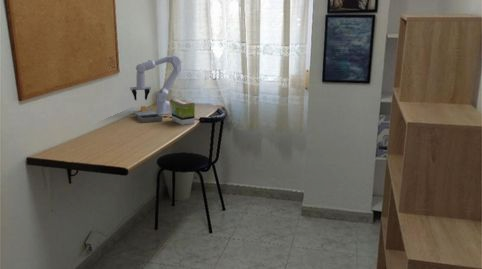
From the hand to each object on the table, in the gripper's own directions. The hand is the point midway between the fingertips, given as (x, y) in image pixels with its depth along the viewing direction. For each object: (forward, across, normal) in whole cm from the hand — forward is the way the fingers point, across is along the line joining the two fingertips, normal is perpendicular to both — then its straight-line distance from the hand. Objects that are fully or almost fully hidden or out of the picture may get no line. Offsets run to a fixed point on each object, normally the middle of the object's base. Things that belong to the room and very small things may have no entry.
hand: (140, 99), depth 323 cm
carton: (+10, 0, -20) cm, 22 cm away
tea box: (+10, +19, -33) cm, 39 cm away
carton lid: (+7, 0, -12) cm, 14 cm away
